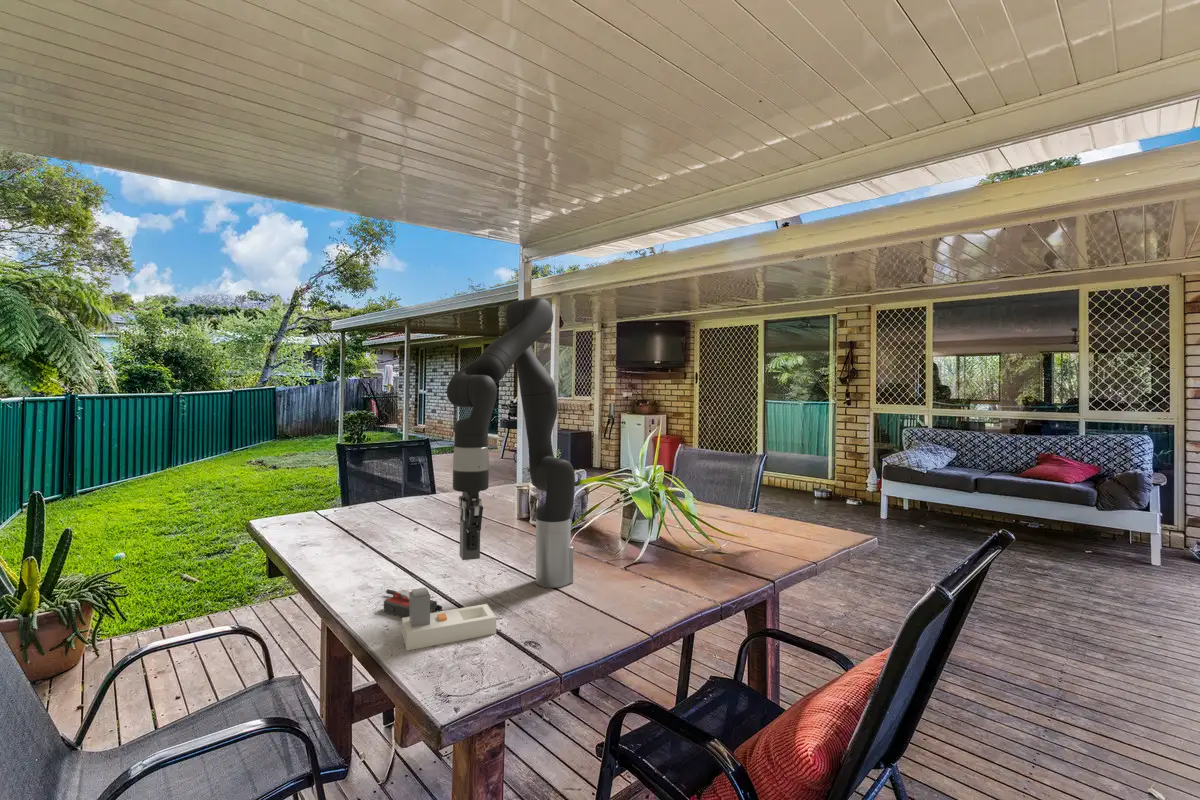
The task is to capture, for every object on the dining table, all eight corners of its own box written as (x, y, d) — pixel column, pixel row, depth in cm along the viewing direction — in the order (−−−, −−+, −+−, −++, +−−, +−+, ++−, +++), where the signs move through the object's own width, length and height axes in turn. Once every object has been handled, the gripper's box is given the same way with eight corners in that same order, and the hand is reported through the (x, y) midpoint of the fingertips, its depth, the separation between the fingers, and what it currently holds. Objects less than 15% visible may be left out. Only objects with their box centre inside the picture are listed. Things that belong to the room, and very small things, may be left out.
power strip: (486, 619, 125) (486, 574, 124) (496, 633, 117) (496, 586, 117) (402, 634, 117) (402, 586, 117) (406, 650, 110) (406, 599, 109)
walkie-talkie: (449, 611, 130) (390, 594, 140) (449, 592, 130) (390, 577, 140) (420, 624, 122) (360, 606, 132) (420, 605, 122) (360, 588, 132)
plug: (476, 554, 122) (476, 514, 122) (479, 558, 119) (480, 518, 119) (459, 555, 120) (460, 516, 120) (462, 560, 117) (463, 519, 117)
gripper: (496, 471, 114) (495, 554, 115) (481, 463, 127) (480, 537, 127) (459, 472, 111) (458, 558, 111) (447, 464, 124) (446, 541, 124)
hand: (469, 547), depth 119 cm, fingers closed on plug, 3 cm apart
